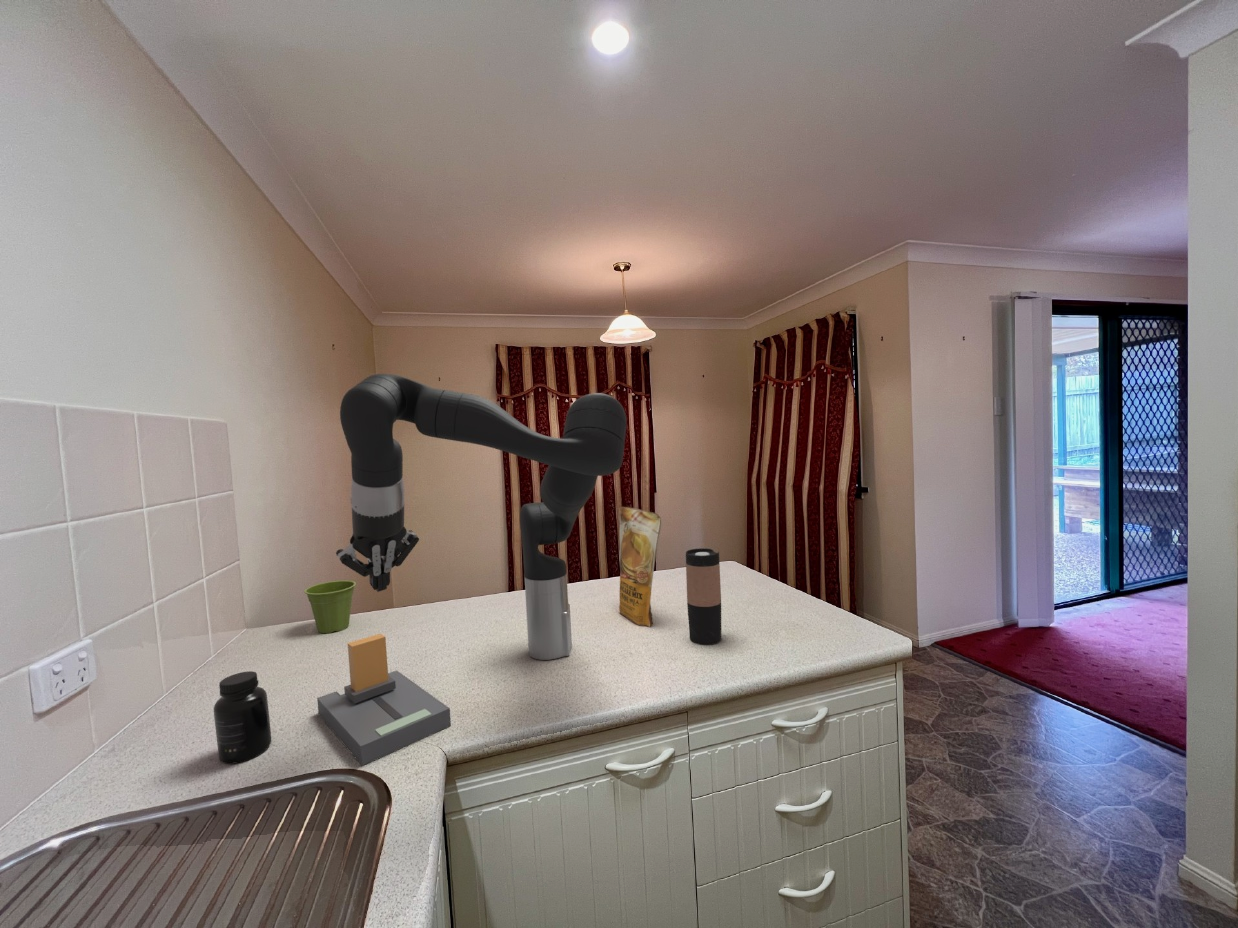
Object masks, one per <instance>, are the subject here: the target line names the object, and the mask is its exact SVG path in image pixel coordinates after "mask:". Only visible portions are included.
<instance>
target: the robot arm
mask: <svg viewBox="0 0 1238 928" xmlns="http://www.w3.org/2000/svg"><path fill="white" fill-rule="evenodd" d="M339 416H340V417H339V419H340V425H341V427H342V431H343V434H344V438H345V440H346V445H347V446H348V449H349V451H350V454H351V457H350V458H351V459H350V463H351V464H350V466H351V486H350V501H349V502H350V504H351V505H350V506H351V521H352V524H351V525H352V535H351V537H350V539H349V543H350V544H349V545H347V546H346V547H345V548H344V549H342V548H340V549H338V550H336V552H335V554H336V556H337V558H338V559H339V561H340V562H341V564H342V565H343V566H346V567H347V568H349V569H350V570H352V571H354V572H356V573H357V574H359V575H360V576H362V577H364V578H365V577H369V584H370V586H371V588H372V589H373V590H374V591H376V592H377V593H379V592H382V591H385V590H387V588H388V586H389V585H390V583H391V571H392V569H393V568H394V567H400V566H401V565H402V564H403V563H404V561H405V560H406V559H407V557H408V556H409V554H410V553H411V552H412V550H413V549H414V548H415V546H416V545H417V544H418V542H419V541H420V538H419V537H418V536H417V534H416V532H414V531H413V530H411V529H410V530H407V528H406V527H405V483H404V477H403V473H404V471H403V468H404V466H403V462H404V461H403V459H404V458H403V457H404V456H403V449H402V446H401V444H400V443H399V441H397V439H395V438H394V437H393V436H394V435H393V430H394V429H393V428H394V424H395V422H396V421H405V422H408V423H412V424H414V425H415V428H416V429H417V431H418V432H419V433H420V434H421V435H424V436H427V437H431V438H435V439H443V440H448V441H453V442H454V441H455V442H461V443H467V444H473V445H479V446H484V447H486V448H487V447H488V448H492V449H496V450H499V451H502V452H506V453H509V454H513V455H515V456H517V457H522V458H524V459H527V460H531V461H534V462H537V463H541V464H545V465H547V469H546V471H545V473H544V475H543V478H542V480H541V483H540V485H539V486H540V489H539V493H540V499H541V502H532V503H530V502H529V503H524V504H523V505H522V506H521V507H520V508H521V509H520V511H519V529H520V537H521V546H522V556H523V557H522V558H523V574H524V575H523V576H524V586H525V587H524V590H525V591H524V592H525V609H526V610H525V613H526V629H527V646H528V648H527V649H528V655H529V657H531V658H532V659H535V660H540V661H544V660H546V661H548V660H549V661H550V660H555V659H559V658H563V657H569V656H570V653H571V650H572V646H573V642H572V641H573V639H572V636H573V635H572V621H571V604H569V595H568V594H569V592H568V590H569V589H568V571H567V563H566V561H565V560H564V559H562V558H561V557H556V556H551V555H548V554H545V553H543V552H541V551H540V550H539V546H544V545H553V544H559V543H560V544H561V543H563V542H565V541H567V539H568V538H570V535H571V533H572V530H573V528H574V525H575V522H576V520H577V518H578V516H579V514H580V512H581V510H582V508H583V507H584V506H585V505H586V503H587V502H588V501H589V499H590V497H591V496H592V494H593V492H594V489H595V486H596V484H597V480H598V476H599V477H604V476H608V475H611V474H614V473H616V472H617V471H618V470H619V469H620V468H621V467H622V465H623V461H624V452H625V445H626V444H625V442H626V441H625V440H626V434H627V433H626V432H627V426H628V425H627V424H628V423H627V415H626V411H625V409H624V406H623V405H622V404H621V403H620V401H619V400H617V399H616V398H614V397H613V396H611V395H610V394H606V393H601V392H595V393H594V392H593V393H588V394H585V395H582V396H581V397H579V398H577V399H576V400H575V401H573V402H572V404H571V405H570V406H569V408H568V409H567V413H566V415H565V423H564V427H563V434H562V438H558V437H555V436H547V435H545V434H541V433H539V432H537V431H534V430H533V429H532V428H530V427H528V426H526V425H525V424H523V423H522V422H520V421H519V420H517V419H516V418H515V417H514V416H513V415H511V414H510V413H509V412H508V411H506V410H504V408H502V407H501V406H499V405H498V404H496V403H494V402H493V401H491V400H490V399H487V398H484V397H482V396H479V395H476V394H471V393H465V392H460V391H453V390H448V389H446V390H445V389H440V388H434V387H431V386H429V385H426V384H424V383H421V382H419V381H416V380H413V379H410V378H408V377H404V376H402V375H397V374H391V373H376V374H372V375H369V376H368V377H366V378H364V379H363V380H361V381H360V382H359V383H357V384H355V386H352V388H350V389H349V390H347V392H345V394H344V395H343V398H342V400H341V402H340V410H339ZM356 552H358V553H359V554H360V555H361V556H363V557H365V558H366V562H367V563H364V562H363V561H361V560H360V559H359V558H357V554H356Z"/></svg>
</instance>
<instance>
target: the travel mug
mask: <svg viewBox="0 0 1238 928" xmlns="http://www.w3.org/2000/svg"><path fill="white" fill-rule="evenodd" d="M720 566H721V565H720V551H717V552H716V551H714V549H712V548H706V547H705V548H692V549H687V551H686V552H685V573H686V574H685V575H686V576H685V577H686V602H687V603H686V605H687V606H686V607H687V617H688V618H687V619H688V634H689V639H690V641H691V642H692V643H694V644H697V645H703V646H707V645H708V646H710V645H715V644H718V643H720V642H721V641H722V592H721V591H722V590H721V589H722V588H721V586H722V585H721V569H720Z"/></svg>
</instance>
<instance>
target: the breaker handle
mask: <svg viewBox="0 0 1238 928" xmlns="http://www.w3.org/2000/svg"><path fill="white" fill-rule="evenodd" d="M347 651H348V652H347V654H348V656H347V657H348V665H349V667H348V669H349V682H350V684H348V685H346V686H344V691H345V695H346V696H347V697H348V698H349V699H350V700H351V701H352V702H353V703H354V704H355V703H358V702H361V701H363V700H366V699H369V698H371V697H374V696H377V695H379V694H382V693H385V692H387V691H390V690H393V689H396V684H395V680H394V679H392V678H391V677H390V676H388V673H389V666H388V654H387V653H388V652H387V641H386V636H385V635H383V634H382V633H378V634H375V635H370V636H367V637H364V638H361V639H357V640H354V641H350V642H347Z"/></svg>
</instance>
